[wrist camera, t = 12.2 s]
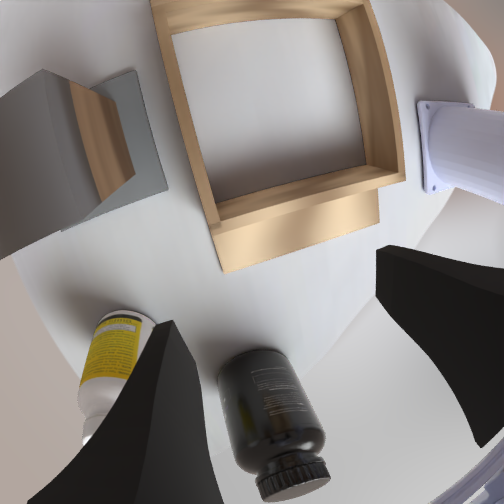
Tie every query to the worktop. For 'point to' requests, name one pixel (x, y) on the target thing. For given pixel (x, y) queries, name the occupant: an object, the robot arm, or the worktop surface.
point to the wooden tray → (311, 189)
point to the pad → (131, 145)
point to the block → (56, 157)
